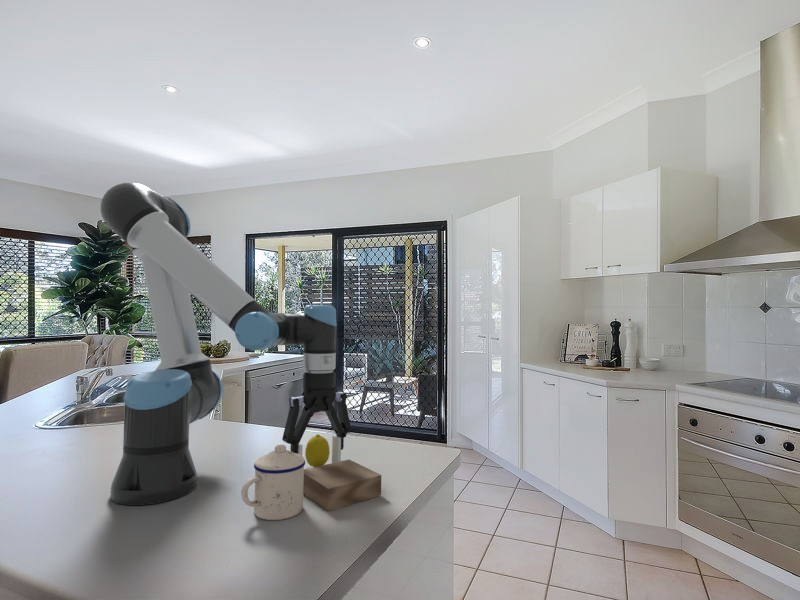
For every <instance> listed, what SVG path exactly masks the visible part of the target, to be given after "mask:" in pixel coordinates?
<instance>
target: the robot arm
mask: <svg viewBox="0 0 800 600" xmlns="http://www.w3.org/2000/svg"><path fill="white" fill-rule="evenodd" d="M100 201H101V203H100V214H101V217H102V219H103V222H104V223H105V225H107V227H108V228H109V229H111V231H112V232H114V233H115V234H116V235H117V236H118V237H119V238H120V239H122V240H123V241H124V242H125V243H126V244H127V245H129V246H130V248H131V250H132V254H133V255H134V256H135V257H137V258H138V259H140V260H141V263H142V268H143V274H144V277H145V278H144V279H145V284H146V288H147V295H148V299H149V304H150V308H151V314H152V319H153V325H154V328H155V334H156V340H157V345H158V349H159V355H160V363H159V364H158V365H157V367H156V368H155V369H154V370H153V371H145V372H141V373H138V374H136V375H134V376H132V377H131V378H130V379H129V380H128V381H127V382H126V386H125V393H124V396H123V403H124V406H123V407H124V412H123V413H124V414H123V443H122V445H123V446H122V457H121V459H120V461H119V465H118V466H117V469H116V472H115V475H114V478H113V480H112V482H111V486H110V499H111V501H112V502H114V503H116V504H119V505H123V506H124V505H125V506H146V505H153V504H159V503H164V502H168V501H172V500H175V499H177V498H178V499H179V498H181V497H183V496H185V495H187V494H189V493H191V492H192V491H193V490H194V489H196V487H197V482H198V481H197V479H198V474H197V473H198V472H197V469H196V466H195V463H194V460H193V458H192V453H191V452H190V451H191V450H190V447H189V445H190V444H189V443H190V442H189V440H190V425H191V424H193V423H194V422H196V421H198V420H201V419H204V418H205V417H207V416H208V415H210V414H211V413H212V412H213V411H214V410H215V409H216V408H217V407H218V405H219V404H220V402H221V400H222V397H223V393H224V392H223V391H224V385H223V382H222V379H221V377H220V376H219V374H217V372H215V371H213V368H212V363H211V358H210V357H209V356H207V355H205V354H204V353H203V352H202V348H201V343H200V338H199V333H198V332H199V331H198V328H197V324H196V323H197V322H196V319H195V317H196V316H195V313H194V307H193V303H192V299H191V295H193V296H194V298H196V299H197V300H198V301H199V302H200V303H201V304H203V305H204V306H205V307H206V308H207V309H208V310H209V311H210V312H211V313H213V314H214V315H215V316H216V317H217V318H219V319H220V320H221V321H222V322H223V323H224V324H225V325H226V326H227V327H229V328H230V329H231V331H232V332H234V335H235V338H236V340H237V341H238V343H239V345H240V346H242V347H243V348H245V349H247V350H251V351H264V350H267V349H269V348H273V347H276V346H303V357H302V358H303V359H302V362H303V363H302V370H304V372H302V393H301V395H300V396H295V397H294V396H291V397H289V400H288V401H289V409H288V414H287V418H286V423H285V426H284V430H283V434H282V442H284V443H287V444H289V445H290V451H291V452H293V453H297V454H300V455H302V456H303V446H304V445H303V444H302V443H300V442H301V440H302V438H303V435H304V434H305V431H306V430H307V427H308V425H309V423H310V421H311V419H312V417H314V415H315V413H319V412H324V413H326V416H327V418H328V421H329V422H330V425H331V426H332V429H333V432H334V433H335V434H336V435H332V437H331V438H332V448H331V451H332V452H331V454H332V455H331V463H335V462H340V461H342V459H341V458H342V457H341V455H342V452H341V451H342V450H344V445H345V442H344V440H345V439H344V438H346V437H347V435H348V434H351V432H352V428H351V426H352V425H351V423H350V422H351V421H350V417H349V411H348V407H347V396H348V395H347V393H346V392H342V391H337V392H336V388H335V387H336V372H335V371H334V370H335V369H336V366H337V365H336V362H337V360H336V359H337V358H336V357H337V328H338V327H337V326H338V324H337V309H336V308H335V306H333V305H327V304H310V305H309V304H306V305H305V306H304V309H303V312H300V313H289V312H287V313H286V312H285V313H284V312H269V311H268V310H267V309H266V308H264V306H262V304H260V303H258V301H256V299H255V298H254V297H252V296H251V295H250V294H249V293H248V292H247V291H246V290H244V289H243V288H242V287H241V286H240V285H239V284H238V283H237V282H235V280H233V279H232V278H231V277H230V276H229V275H228V274H227V273H225V272H224V271H223V270H222V269H221V268H219V266H217V265H216V264H215V263H214V262H213V261H212V260H211V259H210V258H209V257H207V256H206V254H204V253H203V252H202V251H201V250H200V249H199V248H198V247H196V246H195V245H194V244H193V243H192V242H191V241H190V240H188V236H189V235H190V233H191V220H190V218H189V215H188V212H186V210H185V209H184V208H183V207H182V206H181V205H180V204H179V203H177V201H175V200H173V199H171V198H169V197H167V196H165V195H162V194H160V193H158V192H156V191H155V190H153V189H151V188H149V187H147V186H145V185H144V184H141V183H137V182H136V183H135V182H122V183H119V184H116V185H114V186H112V187H110V188H109V189H108V190H107V191H106V192H105V193H104V195H103V197H102V198H101V200H100ZM334 400H335V401H336V407H337V412H338V415H337V413H336V409H335V407H334V404H333V402H334ZM302 403H303V404H304V406H303V408H302V410H301V414H300V413H299V412H300V407H301V406H302ZM299 414H300V417H299ZM338 417H339V418H338ZM298 418H299V420H298Z"/></svg>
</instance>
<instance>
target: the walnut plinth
mask: <svg viewBox="0 0 800 600" xmlns="http://www.w3.org/2000/svg"><path fill="white" fill-rule="evenodd" d="M303 496H306V497H307V498H309V499H310V500H312V501H313V502H314V503H316V504H317V505H319V506H320V507H322V508H324V509H325V510H326V511H327V512H329V511H333V510H336V509H337V510H338V509H340V508H343V507H347V506H350V505H353V504H357V503H359V502H363V501H367V500H371V499H374V498H377V497H380V496H382V474H380V473H378V472H376V471H374V470H372V469H370V468H368V467H366V466H364V465H361V464H360V463H357V462H356V461H353V460H351V459H344V460H341V461H340V462H335V463H332V462H331V463H327V464H326V463H325V464H324V465H322V466H317V467H313V466H312V467H309V468H304V487H303Z"/></svg>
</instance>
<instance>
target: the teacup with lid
mask: <svg viewBox="0 0 800 600" xmlns="http://www.w3.org/2000/svg"><path fill="white" fill-rule="evenodd" d="M305 465H306V458H304V456H303V454H302V455H300V454H297V453H293V452H291V450H289V449H287V446H286V445H284V444H277V445H275V446H274V450H272V451H270V452H268V453H266V454H263V455H262V456H259V457H258V458H257V459H256V460H255V461H254V463H253V468H254V476H253V477H250V478H248V479H247V480H245V482H244V483H243V485H242V487H241V492H240V493H241V499H242V501H243V503H244V504H245V505H246V506H249V507H251V508H253V513H254V515H255V516H257V517H258V518H260V519H262V520H265V519H266V521H281V520H287V519H291V518H292V517H295V516H297V515H298V514H300V513H301V512H302V510H303V508H304V494H303V487H304V469H305ZM253 484H254V500H252V501H250V499H249V496H248V495H249V494H248V492H249V488H250V487H251V486H252V485H253Z"/></svg>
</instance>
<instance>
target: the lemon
mask: <svg viewBox="0 0 800 600" xmlns="http://www.w3.org/2000/svg"><path fill="white" fill-rule="evenodd" d="M304 453H305V455H304V456H305V461H306V462H307V464H308V465H309V466H311V467H312V468H313V467H317V466H322V465H326V463H327V462H328V460H329V457H330V445H329V442H328V440H327V439H326V438H325V437H324V436H322V435H320V433H319V434H315V435H314V436H313V437H310V439H309V440H308V441H307V443H306V445H305V452H304Z"/></svg>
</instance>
